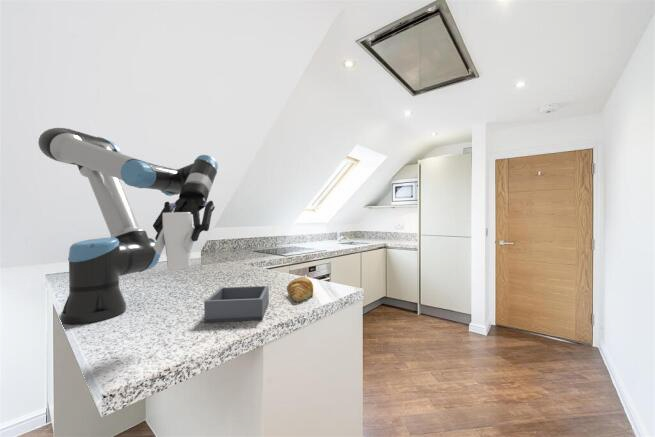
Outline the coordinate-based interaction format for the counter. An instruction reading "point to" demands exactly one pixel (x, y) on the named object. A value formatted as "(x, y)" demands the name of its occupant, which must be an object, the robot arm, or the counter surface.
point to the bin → (237, 304)
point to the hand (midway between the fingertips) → (172, 250)
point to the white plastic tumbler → (176, 239)
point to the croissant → (300, 289)
